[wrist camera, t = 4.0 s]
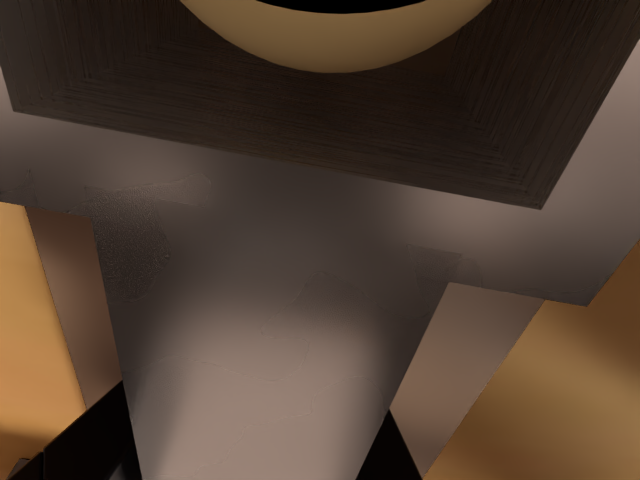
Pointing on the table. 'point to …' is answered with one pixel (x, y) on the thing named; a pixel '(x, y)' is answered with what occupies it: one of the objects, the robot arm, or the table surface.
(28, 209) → the stud board
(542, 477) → the table surface
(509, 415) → the table surface
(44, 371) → the table surface
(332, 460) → the square nut with handle
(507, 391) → the table surface
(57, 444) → the robot arm
